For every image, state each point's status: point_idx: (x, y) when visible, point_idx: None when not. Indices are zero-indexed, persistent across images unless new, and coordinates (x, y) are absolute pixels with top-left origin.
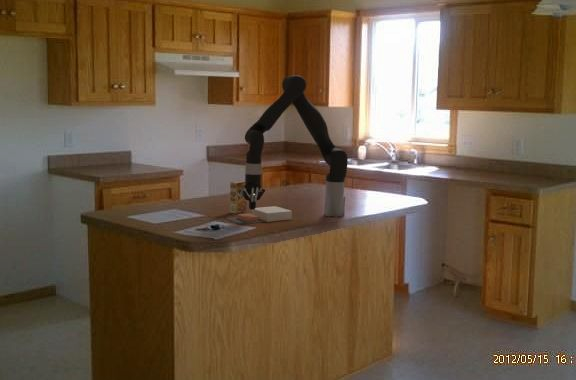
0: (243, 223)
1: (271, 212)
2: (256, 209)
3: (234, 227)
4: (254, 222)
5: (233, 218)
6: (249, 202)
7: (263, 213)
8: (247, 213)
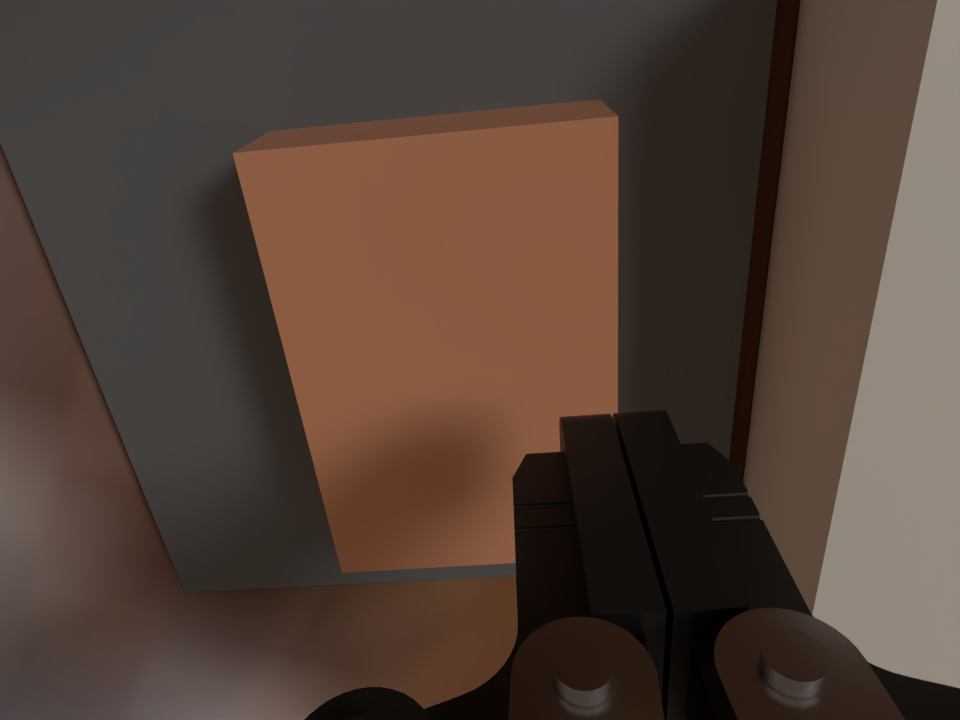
0: (240, 587)
1: (948, 662)
2: (937, 200)
3: (45, 691)
4: (461, 578)
5: (170, 106)
6: (517, 636)
7: (803, 553)
8: (578, 149)
